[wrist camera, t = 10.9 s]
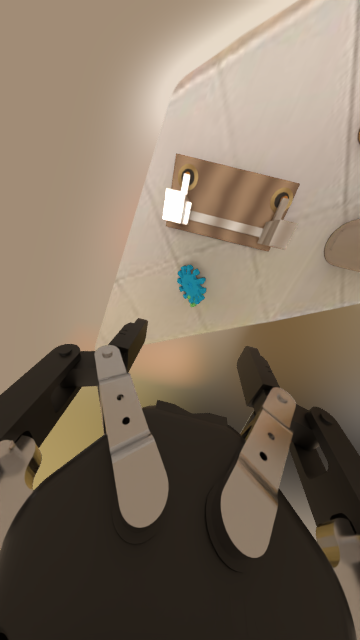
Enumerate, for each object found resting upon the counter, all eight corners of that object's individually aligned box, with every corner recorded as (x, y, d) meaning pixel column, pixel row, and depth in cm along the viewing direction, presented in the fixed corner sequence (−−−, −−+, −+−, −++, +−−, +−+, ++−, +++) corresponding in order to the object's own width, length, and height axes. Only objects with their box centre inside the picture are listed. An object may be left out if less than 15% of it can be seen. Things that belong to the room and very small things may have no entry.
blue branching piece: (173, 262, 39) (201, 271, 33) (191, 256, 42) (220, 264, 35) (177, 300, 46) (201, 314, 39) (192, 293, 48) (217, 305, 42)
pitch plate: (295, 185, 31) (330, 168, 22) (266, 250, 37) (284, 256, 28) (177, 156, 31) (167, 128, 22) (167, 226, 37) (156, 224, 29)
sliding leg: (198, 175, 30) (196, 152, 21) (188, 226, 34) (182, 223, 26) (178, 171, 30) (168, 145, 21) (170, 221, 34) (159, 218, 26)
